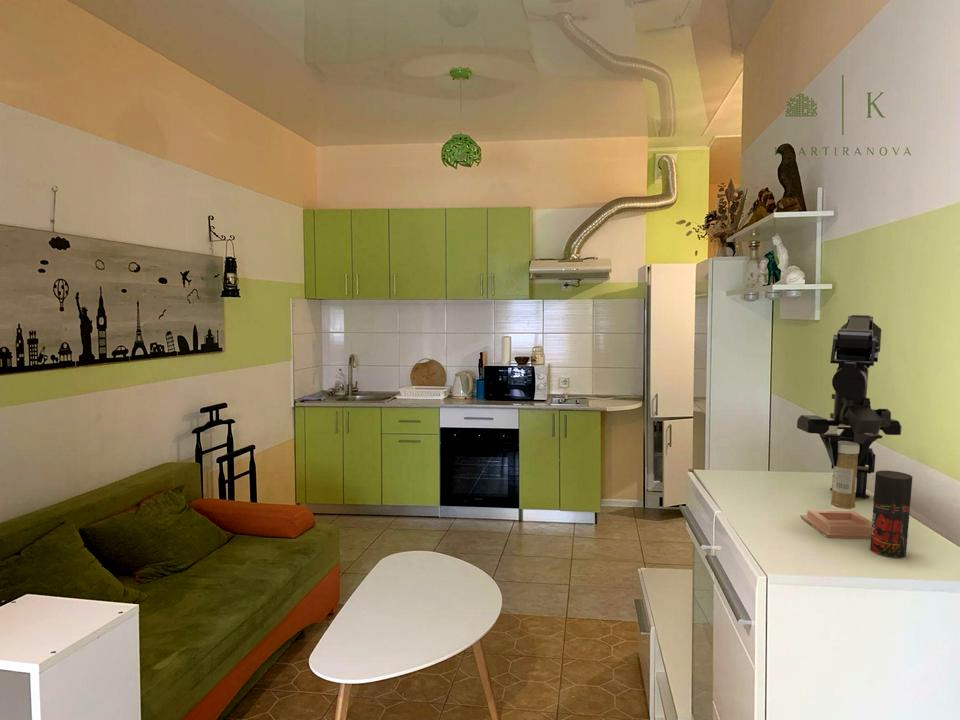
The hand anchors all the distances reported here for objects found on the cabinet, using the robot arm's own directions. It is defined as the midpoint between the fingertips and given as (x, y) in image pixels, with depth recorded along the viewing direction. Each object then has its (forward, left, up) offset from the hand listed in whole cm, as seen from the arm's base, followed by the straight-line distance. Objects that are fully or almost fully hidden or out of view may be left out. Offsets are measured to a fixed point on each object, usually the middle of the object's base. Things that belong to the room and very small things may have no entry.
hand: (845, 465), depth 142 cm
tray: (0, 0, -13) cm, 13 cm away
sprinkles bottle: (0, 0, -9) cm, 9 cm away
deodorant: (-2, +13, -13) cm, 19 cm away
